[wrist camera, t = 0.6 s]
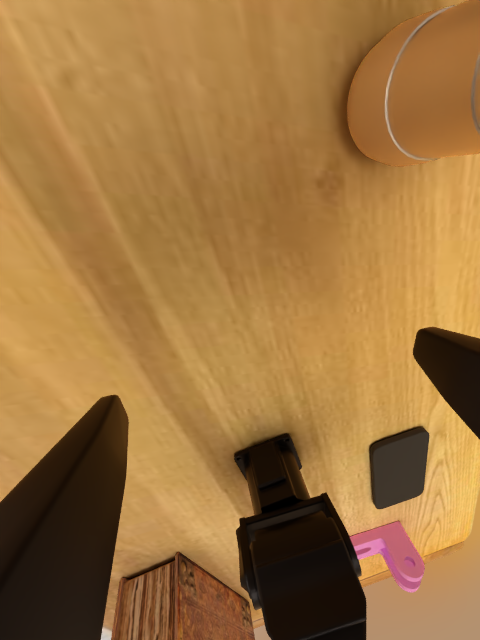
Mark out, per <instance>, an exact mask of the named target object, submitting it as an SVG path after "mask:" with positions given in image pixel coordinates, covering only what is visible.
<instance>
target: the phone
mask: <svg viewBox="0 0 480 640" xmlns="http://www.w3.org/2000/svg"><path fill="white" fill-rule="evenodd" d="M428 443H429V433H428V432H427V431H426V430H425V429H424V428H417V429H414V430H411V431H408V432H405V433H402V434H399V435H396V436H393V437H390V438H388V439H385V440H382V441H379V442H377V443H375V444H374V445H373V446H372V447H371V449H370V459H371V475H372V490H373V503H374V505H375V507H376V508H377V509H383V508H386V507H389V506H392V505H395V504H398V503H401V502H403V501H406V500H409V499H412V498H415V497H417V496H419V495H420V494H422V492H423V490H424V481H425V472H426V462H427V453H428Z"/></svg>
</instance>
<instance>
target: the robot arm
mask: <svg viewBox="0 0 480 640" xmlns="http://www.w3.org/2000/svg"><path fill="white" fill-rule="evenodd" d="M413 355H414V358H415V360H416V361H417V363H418V364H419V365H420V367H421V368H422V369H423V371H424V372H425V374H426V375H427V376H428V378H429V379H430V380H431V382H432V383H433V384H434V386H435V387H436V389H437V390H438V391H439V393H440V394H441V395H442V397H443V398H444V399H445V400H446V402H447V403H448V404H449V405H450V406H451V408H452V409H453V410H454V411H455V412H456V413H457V414H458V415H459V417H460V418H461V419H462V420H463V421H464V422H465V423H466V425H467V426H468V427H469V428H470V429H471V430H472V431H473V432H474V434H475V435H476V436H477V437H478V438H479V439H480V339H479V338H475V337H471V336H467V335H463V334H460V333H456V332H452V331H448V330H444V329H440V328H436V327H428V328H423V329H420V330H419V331H418V332H417V334H416V339H415V344H414V348H413ZM128 424H129V422H128V416H127V413H126V411H125V409H124V407H123V404H122V402H121V400H120V398H119V397H118V395H110V396H106V397H102V398H100V399H99V400H98V401H97V402H96V403H95V404H94V405H93V407H92V408H91V409H90V410H89V411H88V412H87V413H86V414H85V415H84V416H83V417H82V418H81V419H80V420H79V421H78V422H77V423H76V424H75V425H74V426H73V427H72V428H71V429H70V430H69V431H68V432H67V434H66V435H65V436H64V437H63V438H62V439H61V440H60V441H59V442H58V443H57V444H56V445H55V446H54V447H53V448H52V449H51V450H50V451H49V452H48V453H47V454H46V455H45V456H44V457H43V458H42V460H41V461H40V462H39V463H38V464H37V465H36V466H35V467H34V468H33V469H32V470H31V471H30V472H29V473H28V474H27V475H26V476H25V477H24V478H23V479H22V480H21V481H20V482H19V483H18V484H17V485H16V487H15V488H14V489H13V490H12V491H11V492H10V493H9V494H8V495H7V496H6V497H5V498H4V499H3V500H2V501H1V502H0V640H100V639H101V633H102V627H103V620H104V614H105V608H106V602H107V595H108V589H109V583H110V576H111V570H112V564H113V557H114V551H115V545H116V538H117V532H118V526H119V519H120V513H121V507H122V500H123V494H124V488H125V480H126V469H127V447H128ZM234 459H235V462H236V463H237V465H238V467H239V468H240V470H241V472H242V473H243V475H244V477H245V478H246V480H247V482H248V486H249V491H250V496H251V501H252V506H253V510H254V516H251V517H247V518H245V517H244V518H240V519H239V520H240V527H239V528H238V529H237V530H236V534H237V541H238V548H239V566H240V582H241V586H242V588H244V589H245V590H246V591H247V592H248V593H249V597H250V599H252V603H253V606H254V609H255V610H257V609H260V608H262V612H263V617H264V622H265V627H266V631H267V633H268V635H269V637H270V638H271V639H272V640H366V598H365V595H364V592H363V589H362V587H361V584H360V582H359V579H358V577H359V576H361V568H360V564H359V560H358V557H357V554H356V552H355V549H354V546H353V544H352V541H351V539H350V537H349V535H348V533H347V531H346V529H345V527H344V525H343V523H342V521H341V519H340V517H339V515H338V514H337V512H336V510H335V508H334V506H333V504H332V502H331V500H330V499H329V497H328V495H327V493H323V494H321V495H320V496H317V497H313V498H310V496H309V493H308V491H307V488H306V485H305V483H304V480H303V478H302V475H301V472H300V469H301V468H302V465H301V462H300V460H299V457H298V455H297V452H296V450H295V447H294V444H293V442H292V439H291V437H290V435H289V434H284V435H282V436H279V437H277V438H274V439H271V440H269V441H266V442H264V443H261V444H258V445H256V446H253V447H251V448H248V449H246V450H243V451H240V452H238V453H236V454H235V455H234Z"/></svg>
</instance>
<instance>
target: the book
mask: <svg viewBox="0 0 480 640" xmlns="http://www.w3.org/2000/svg"><path fill="white" fill-rule="evenodd" d="M111 640H255V638H254V632H253V625H252V618H251V612H250V606H249V602H248V601H247V600H245V599H244V598H243V597H241V596H240V595H238V594H237V593H236V592H234V591H233V590H231V589H230V588H229V587H227V586H226V585H224V584H223V583H222V582H220V581H219V580H217V579H216V578H215V577H213V576H212V575H210V574H209V573H208V572H206V571H205V570H203V569H202V568H201V567H199V566H198V565H196V564H195V563H194V562H192V561H191V560H189V559H188V558H187V557H185V556H184V555H182V554H181V553H180V552H178V553H176V555H175V561H173V562H170V563H168V564H166V565H164V566H161V567H159V568H157V569H154V570H152V571H150V572H147V573H145V574H143V575H141V576H138V577H136V578H134V579H131V580H129V579H127V578H122V579H121V580H120V582H119V589H118V596H117V603H116V610H115V617H114V624H113V631H112V638H111Z"/></svg>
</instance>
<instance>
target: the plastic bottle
mask: <svg viewBox="0 0 480 640" xmlns="http://www.w3.org/2000/svg"><path fill="white" fill-rule="evenodd" d="M347 119H348V127H349V130H350V134H351V137H352V139H353V141H354V143H355V144H356V146H357V147H358V148H359V150H360V151H361V152H362V153H363V154H364V155H366V156H367V157H369V158H370V159H373V160H376V161H378V162H381V163H384V164H387V165H390V166H398V167H400V166H408V165H414V164H421V163H426V162H430V161H433V160H436V159H439V158H443V157H452V156H461V155H470V154H479V153H480V0H468V1H465V2H463V3H460V4H458V5H453V6H448V7H443V8H439V9H436V10H433V11H430V12H427V13H424V14H421V15H419V16H416V17H413V18H410V19H408V20H406V21H404V22H402V23H401V24H399V25H398V26H396V27H394V28H393V29H392V30H391V31H390V32H389V33H388V34H387V35H386V36H385V37H384V38H383V39H382V40H381V41H380V42H379V43H377V44H376V45H375V46H374V47H373V48H372V49H371V50H370V51H369V53H368V54H367V55H366V57H365V58H364V59H363V61H362V62H361V64H360V66H359V68H358V69H357V71H356V73H355V75H354V78H353V81H352V84H351V87H350V91H349V96H348V101H347Z"/></svg>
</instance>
